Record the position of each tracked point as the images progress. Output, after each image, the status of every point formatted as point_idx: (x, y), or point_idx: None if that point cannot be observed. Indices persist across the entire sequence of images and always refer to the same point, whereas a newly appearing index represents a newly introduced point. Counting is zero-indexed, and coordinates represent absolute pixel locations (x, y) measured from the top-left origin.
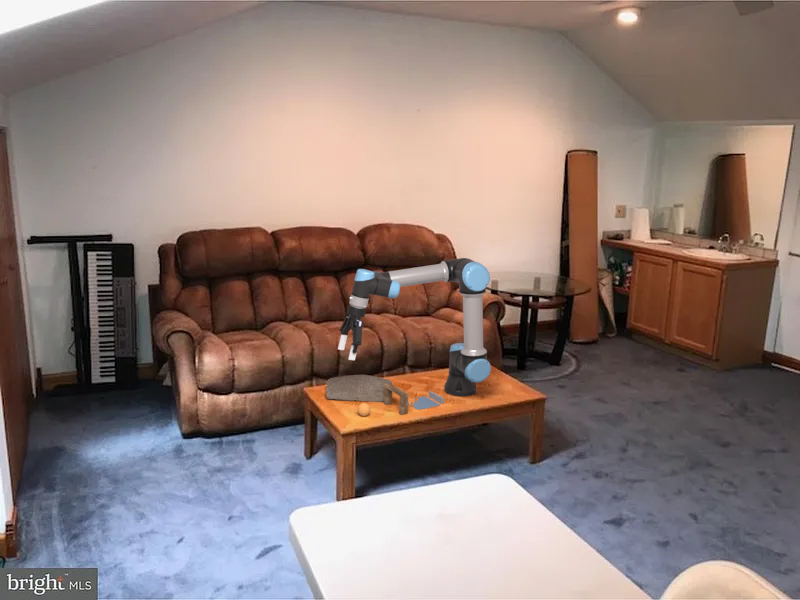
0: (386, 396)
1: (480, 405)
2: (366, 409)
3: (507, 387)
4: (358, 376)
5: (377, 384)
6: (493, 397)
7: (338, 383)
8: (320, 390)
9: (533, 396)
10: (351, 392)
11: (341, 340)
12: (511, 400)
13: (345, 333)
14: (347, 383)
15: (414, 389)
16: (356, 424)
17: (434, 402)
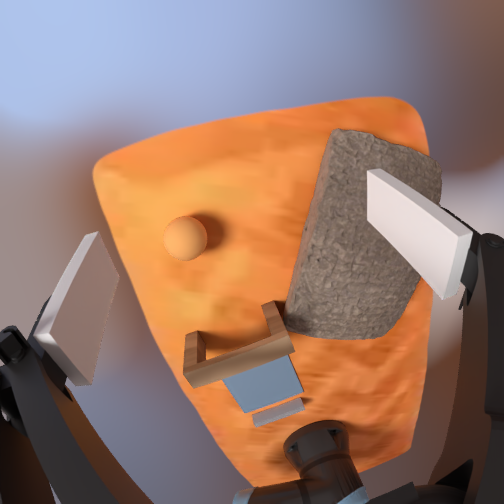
0: (266, 320)
1: (235, 458)
2: (165, 246)
3: None
4: None
5: (342, 306)
6: (270, 471)
7: None
8: (403, 129)
9: None
10: (317, 213)
11: (416, 217)
12: (252, 484)
13: (472, 289)
14: None
15: (351, 372)
16: (120, 203)
17: (260, 405)
